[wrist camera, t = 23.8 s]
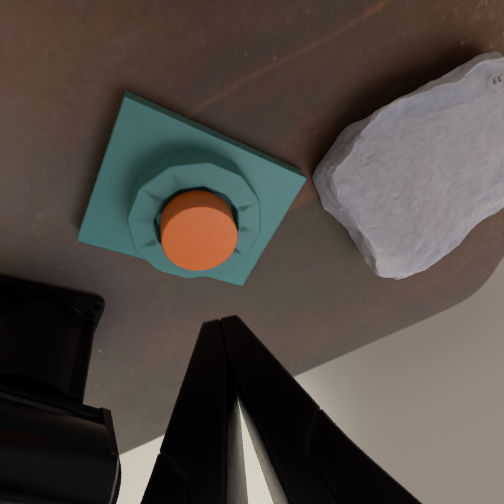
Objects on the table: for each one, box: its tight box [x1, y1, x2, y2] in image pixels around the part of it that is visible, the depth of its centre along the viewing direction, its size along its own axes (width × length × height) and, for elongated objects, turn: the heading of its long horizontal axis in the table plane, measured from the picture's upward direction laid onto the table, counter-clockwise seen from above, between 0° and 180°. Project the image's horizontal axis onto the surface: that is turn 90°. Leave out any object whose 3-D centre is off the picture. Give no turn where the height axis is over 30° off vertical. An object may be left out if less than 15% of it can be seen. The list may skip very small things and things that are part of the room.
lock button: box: [160, 190, 238, 271], centre depth 19 cm, size 4×4×2 cm
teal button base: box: [77, 91, 307, 286], centre depth 20 cm, size 10×8×3 cm
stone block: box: [312, 51, 504, 279], centre depth 22 cm, size 12×5×10 cm
